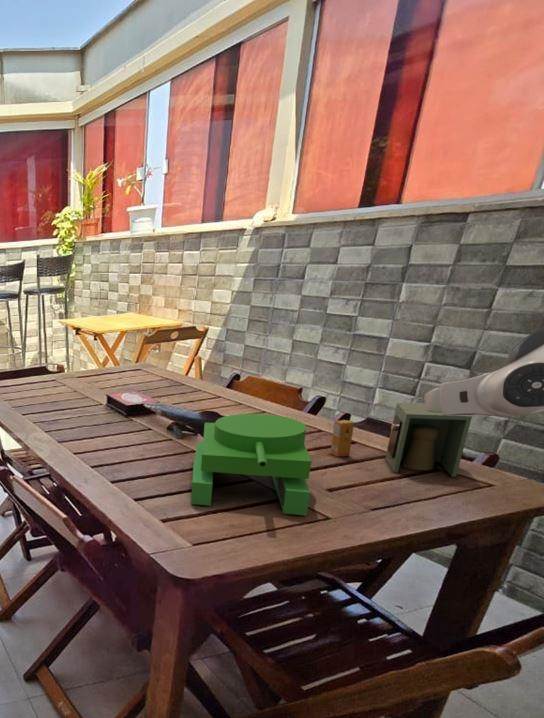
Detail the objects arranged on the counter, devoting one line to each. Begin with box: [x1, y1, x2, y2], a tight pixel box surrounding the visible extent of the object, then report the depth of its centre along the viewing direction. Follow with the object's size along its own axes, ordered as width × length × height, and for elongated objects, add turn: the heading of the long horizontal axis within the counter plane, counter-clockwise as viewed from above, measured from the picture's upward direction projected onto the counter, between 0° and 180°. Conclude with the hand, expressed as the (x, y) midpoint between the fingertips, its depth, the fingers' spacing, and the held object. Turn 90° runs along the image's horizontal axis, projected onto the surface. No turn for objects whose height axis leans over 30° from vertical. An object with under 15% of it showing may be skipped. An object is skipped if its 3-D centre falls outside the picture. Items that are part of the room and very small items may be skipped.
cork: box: [401, 425, 439, 471], centre depth 127 cm, size 6×6×11 cm
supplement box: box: [330, 419, 355, 458], centre depth 139 cm, size 3×4×10 cm
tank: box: [190, 413, 312, 517], centre depth 124 cm, size 24×35×16 cm
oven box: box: [385, 402, 473, 478], centre depth 126 cm, size 13×11×16 cm
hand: (488, 397), depth 100 cm, fingers closed
